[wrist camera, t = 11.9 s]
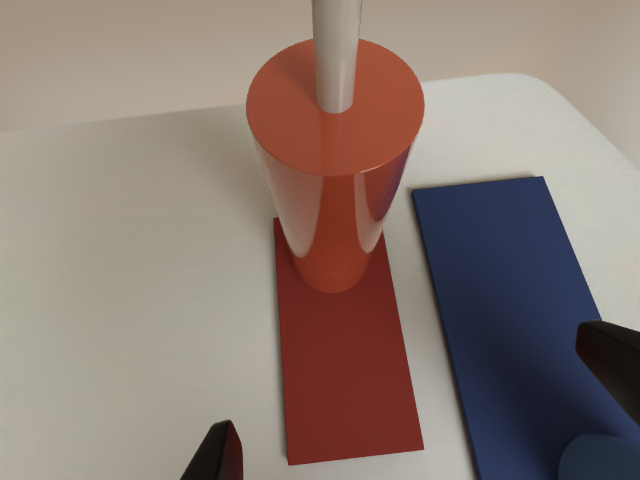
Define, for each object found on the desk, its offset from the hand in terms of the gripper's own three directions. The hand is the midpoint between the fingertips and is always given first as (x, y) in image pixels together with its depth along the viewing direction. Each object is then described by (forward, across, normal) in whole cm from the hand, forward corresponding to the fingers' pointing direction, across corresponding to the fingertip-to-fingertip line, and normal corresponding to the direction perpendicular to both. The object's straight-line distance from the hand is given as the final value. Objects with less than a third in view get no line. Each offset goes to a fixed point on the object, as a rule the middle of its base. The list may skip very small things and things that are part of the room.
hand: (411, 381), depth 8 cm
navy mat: (+8, -10, +8) cm, 15 cm away
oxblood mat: (+10, +1, +6) cm, 12 cm away
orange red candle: (+13, 0, +2) cm, 13 cm away
